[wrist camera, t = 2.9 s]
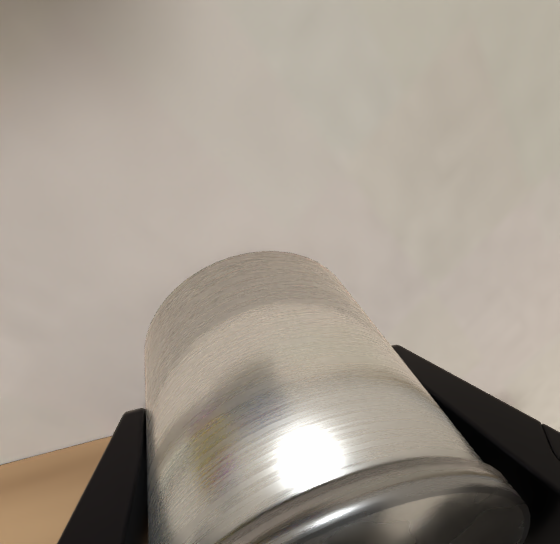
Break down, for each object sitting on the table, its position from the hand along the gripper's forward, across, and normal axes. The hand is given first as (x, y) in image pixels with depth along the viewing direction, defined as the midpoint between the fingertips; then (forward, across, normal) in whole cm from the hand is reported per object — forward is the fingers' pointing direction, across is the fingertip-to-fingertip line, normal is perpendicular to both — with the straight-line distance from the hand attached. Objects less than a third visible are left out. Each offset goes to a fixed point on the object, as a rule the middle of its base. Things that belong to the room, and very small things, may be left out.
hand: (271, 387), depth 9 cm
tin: (+2, 0, 0) cm, 2 cm away
